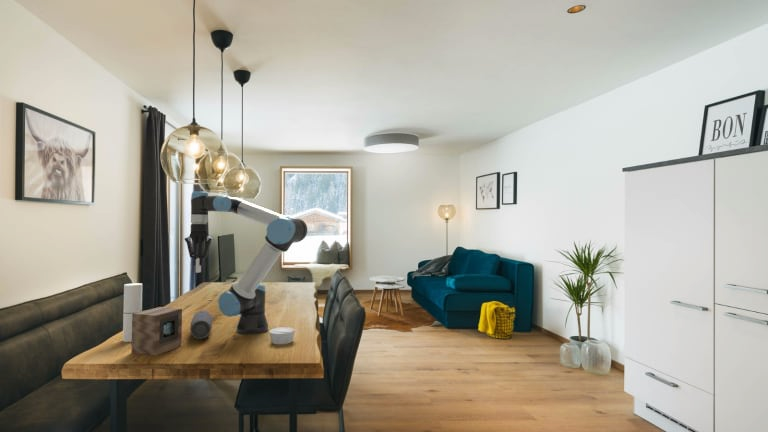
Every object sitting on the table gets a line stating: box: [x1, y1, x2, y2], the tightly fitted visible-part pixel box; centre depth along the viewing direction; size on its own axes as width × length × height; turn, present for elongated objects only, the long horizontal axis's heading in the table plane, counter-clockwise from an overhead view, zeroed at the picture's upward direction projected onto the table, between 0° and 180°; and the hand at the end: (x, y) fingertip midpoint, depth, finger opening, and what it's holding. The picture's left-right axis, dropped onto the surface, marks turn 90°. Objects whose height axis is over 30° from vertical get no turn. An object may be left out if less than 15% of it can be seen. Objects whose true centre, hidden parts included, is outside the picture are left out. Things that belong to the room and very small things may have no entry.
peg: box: [164, 323, 174, 335], centre depth 174 cm, size 12×5×5 cm, turn 74°
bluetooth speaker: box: [190, 310, 213, 340], centre depth 196 cm, size 23×9×10 cm, turn 22°
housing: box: [131, 306, 183, 357], centre depth 174 cm, size 12×14×16 cm
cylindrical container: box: [122, 282, 143, 343], centre depth 188 cm, size 7×7×25 cm
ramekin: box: [268, 326, 296, 345], centre depth 187 cm, size 11×11×5 cm
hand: (198, 272), depth 200 cm, fingers closed
